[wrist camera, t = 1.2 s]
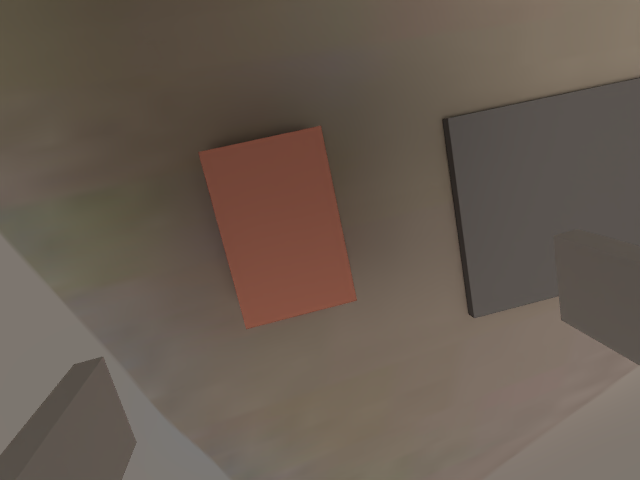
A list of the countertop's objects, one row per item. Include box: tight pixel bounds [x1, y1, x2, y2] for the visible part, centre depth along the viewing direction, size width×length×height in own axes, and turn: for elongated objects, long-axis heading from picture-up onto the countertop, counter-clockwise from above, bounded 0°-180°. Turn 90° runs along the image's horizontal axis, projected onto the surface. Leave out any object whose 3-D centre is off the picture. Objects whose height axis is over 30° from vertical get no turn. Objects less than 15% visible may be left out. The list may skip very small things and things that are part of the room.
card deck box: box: [198, 126, 357, 329], centre depth 26 cm, size 10×6×5 cm, turn 12°
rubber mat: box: [443, 78, 640, 318], centre depth 31 cm, size 14×18×1 cm
